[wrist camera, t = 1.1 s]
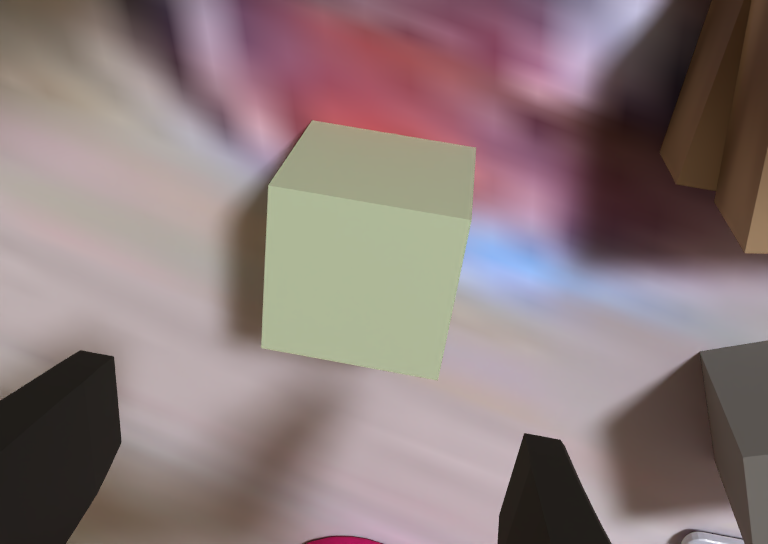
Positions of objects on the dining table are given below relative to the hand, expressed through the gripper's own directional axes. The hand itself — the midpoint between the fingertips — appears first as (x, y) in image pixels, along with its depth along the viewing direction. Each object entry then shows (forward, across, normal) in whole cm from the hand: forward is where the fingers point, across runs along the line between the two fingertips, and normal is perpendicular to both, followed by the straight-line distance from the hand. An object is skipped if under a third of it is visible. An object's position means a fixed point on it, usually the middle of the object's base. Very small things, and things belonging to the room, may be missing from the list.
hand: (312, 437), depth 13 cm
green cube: (+10, 0, 0) cm, 10 cm away
